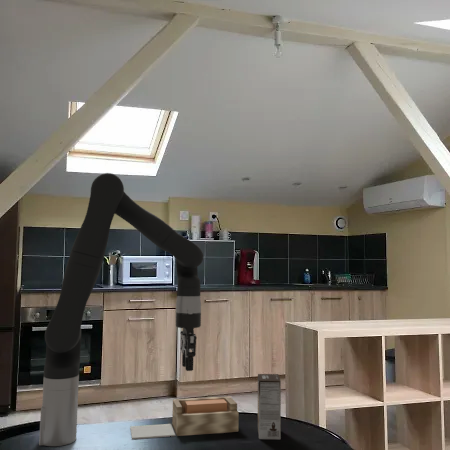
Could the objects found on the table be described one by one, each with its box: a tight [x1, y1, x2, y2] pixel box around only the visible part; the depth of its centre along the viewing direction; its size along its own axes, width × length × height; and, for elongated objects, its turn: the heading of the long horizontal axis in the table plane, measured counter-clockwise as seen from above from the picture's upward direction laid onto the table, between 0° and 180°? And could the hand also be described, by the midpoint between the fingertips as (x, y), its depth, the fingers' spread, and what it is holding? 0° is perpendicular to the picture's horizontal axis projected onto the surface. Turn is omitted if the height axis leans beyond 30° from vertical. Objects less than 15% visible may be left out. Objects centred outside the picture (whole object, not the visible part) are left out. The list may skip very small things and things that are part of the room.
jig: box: [171, 395, 240, 437], centre depth 139 cm, size 18×10×8 cm, turn 104°
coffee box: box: [257, 373, 282, 440], centre depth 135 cm, size 9×6×16 cm
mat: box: [129, 423, 176, 440], centre depth 135 cm, size 12×10×1 cm
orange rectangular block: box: [185, 399, 227, 414], centre depth 140 cm, size 12×4×4 cm, turn 104°
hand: (187, 368), depth 139 cm, fingers open, 5 cm apart
